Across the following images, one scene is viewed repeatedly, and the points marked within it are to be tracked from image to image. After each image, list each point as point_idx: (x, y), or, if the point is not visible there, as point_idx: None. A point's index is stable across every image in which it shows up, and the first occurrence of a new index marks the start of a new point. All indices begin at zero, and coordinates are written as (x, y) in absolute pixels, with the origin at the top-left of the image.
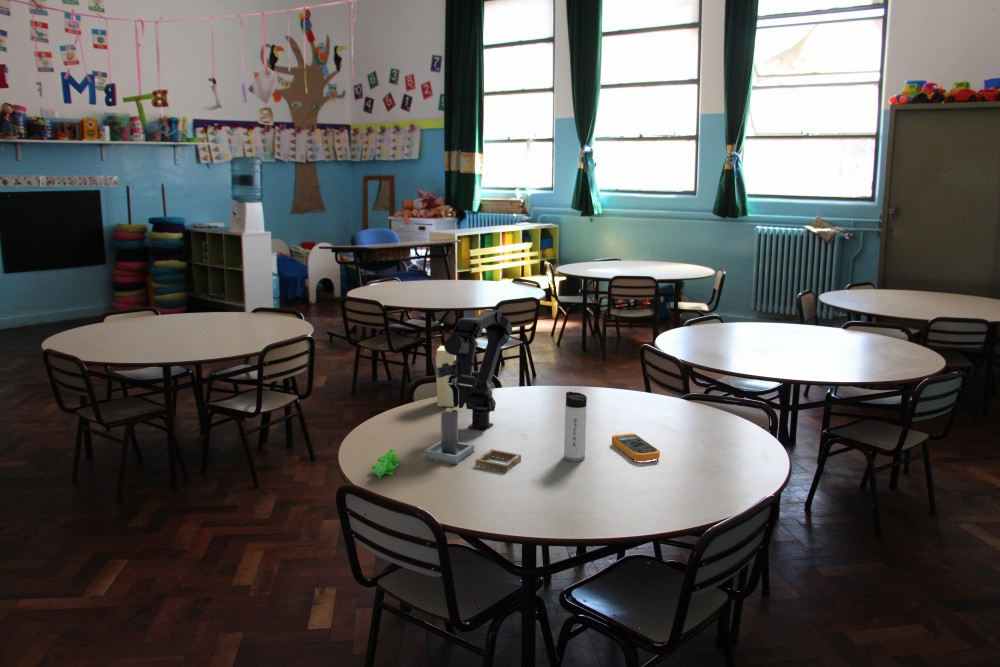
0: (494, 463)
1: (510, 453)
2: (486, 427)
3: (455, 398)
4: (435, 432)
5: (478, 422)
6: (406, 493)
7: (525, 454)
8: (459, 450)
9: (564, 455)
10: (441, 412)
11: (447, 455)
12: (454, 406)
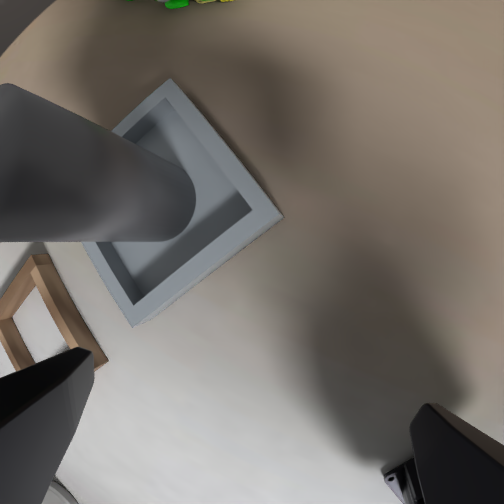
0: (3, 297)
1: None
2: (397, 488)
3: (464, 470)
4: (489, 268)
5: (411, 478)
6: (29, 39)
7: (94, 449)
8: (167, 259)
9: (55, 487)
10: (1, 87)
11: None
12: (423, 409)
